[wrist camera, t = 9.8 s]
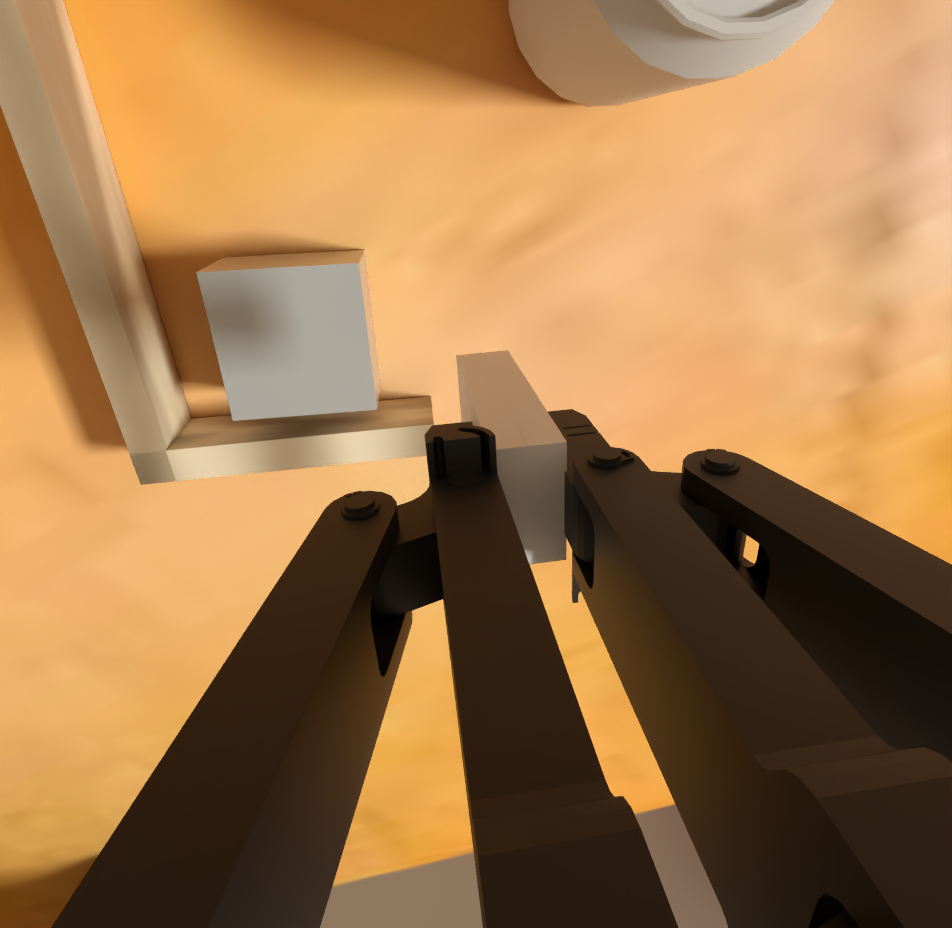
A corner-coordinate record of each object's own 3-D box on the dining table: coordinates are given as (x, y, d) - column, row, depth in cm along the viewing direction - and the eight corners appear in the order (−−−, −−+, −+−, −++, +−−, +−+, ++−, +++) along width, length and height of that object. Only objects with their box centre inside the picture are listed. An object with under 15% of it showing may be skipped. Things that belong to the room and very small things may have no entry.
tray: (169, 449, 29) (140, 484, 26) (-61, -236, 18) (-156, -316, 15) (433, 423, 30) (436, 454, 27) (364, -246, 19) (356, -324, 16)
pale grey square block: (254, 388, 28) (232, 420, 25) (225, 256, 26) (196, 272, 22) (380, 379, 29) (377, 409, 25) (365, 248, 26) (358, 262, 23)
